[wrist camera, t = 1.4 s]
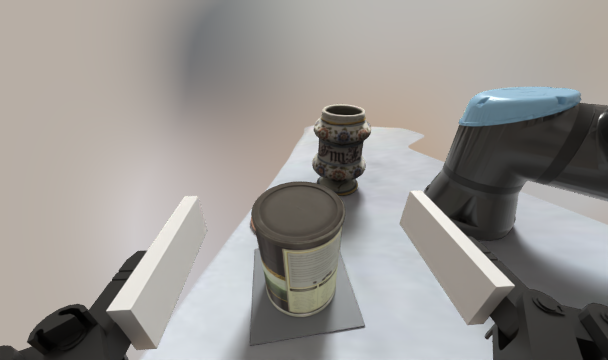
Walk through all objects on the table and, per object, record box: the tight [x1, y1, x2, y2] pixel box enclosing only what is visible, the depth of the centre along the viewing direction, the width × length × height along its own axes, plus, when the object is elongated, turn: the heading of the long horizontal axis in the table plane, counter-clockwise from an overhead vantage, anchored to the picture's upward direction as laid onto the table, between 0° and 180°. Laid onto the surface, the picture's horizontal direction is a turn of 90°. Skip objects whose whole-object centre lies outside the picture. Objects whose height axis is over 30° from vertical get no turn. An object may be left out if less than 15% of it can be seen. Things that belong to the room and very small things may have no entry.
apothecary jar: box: [312, 104, 371, 196], centre depth 48 cm, size 12×12×18 cm
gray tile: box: [250, 248, 365, 346], centre depth 32 cm, size 14×14×1 cm
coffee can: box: [251, 182, 345, 317], centre depth 28 cm, size 10×10×14 cm
